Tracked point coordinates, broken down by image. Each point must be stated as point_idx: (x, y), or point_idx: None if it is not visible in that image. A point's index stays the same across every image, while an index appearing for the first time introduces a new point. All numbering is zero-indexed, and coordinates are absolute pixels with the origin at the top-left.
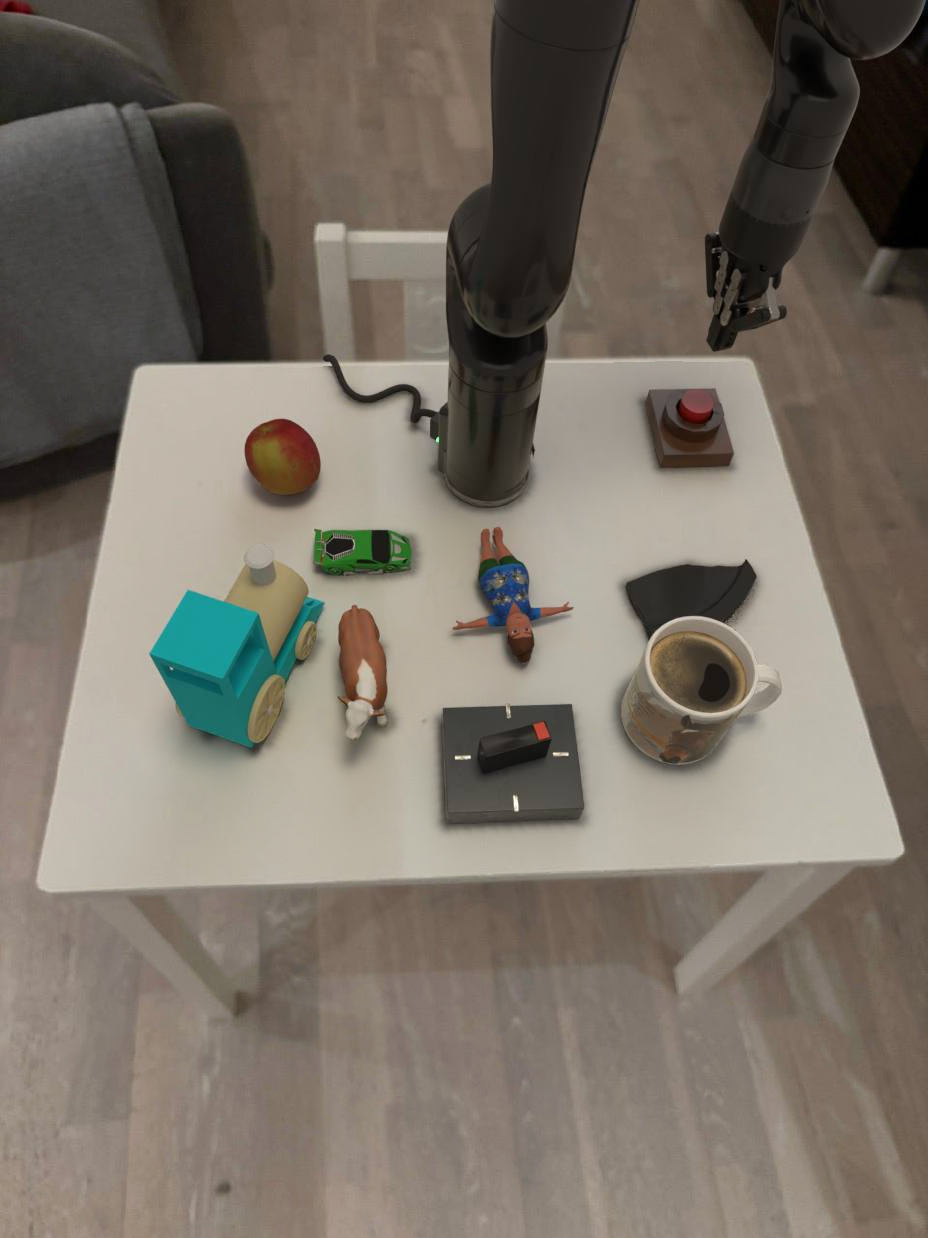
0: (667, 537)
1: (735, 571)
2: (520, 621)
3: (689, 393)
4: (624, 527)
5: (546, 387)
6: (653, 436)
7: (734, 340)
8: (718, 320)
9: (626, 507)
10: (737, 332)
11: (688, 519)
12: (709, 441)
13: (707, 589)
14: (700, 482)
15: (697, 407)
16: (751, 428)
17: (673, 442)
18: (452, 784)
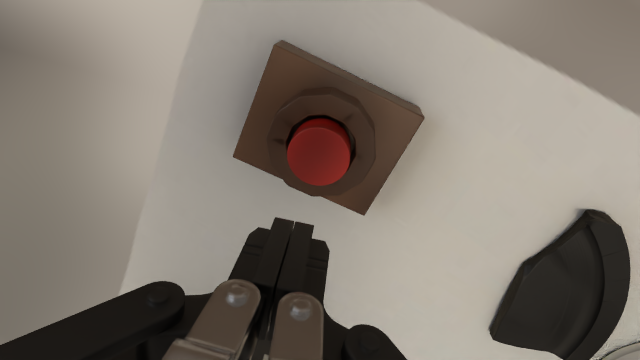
0: (466, 257)
1: (585, 238)
2: None
3: (294, 159)
4: (419, 287)
5: (168, 242)
6: None
7: (327, 265)
8: (269, 340)
9: (395, 270)
10: (324, 288)
11: (461, 220)
12: (378, 138)
13: (572, 278)
14: (419, 166)
15: (331, 167)
16: (373, 7)
17: (349, 190)
18: None
